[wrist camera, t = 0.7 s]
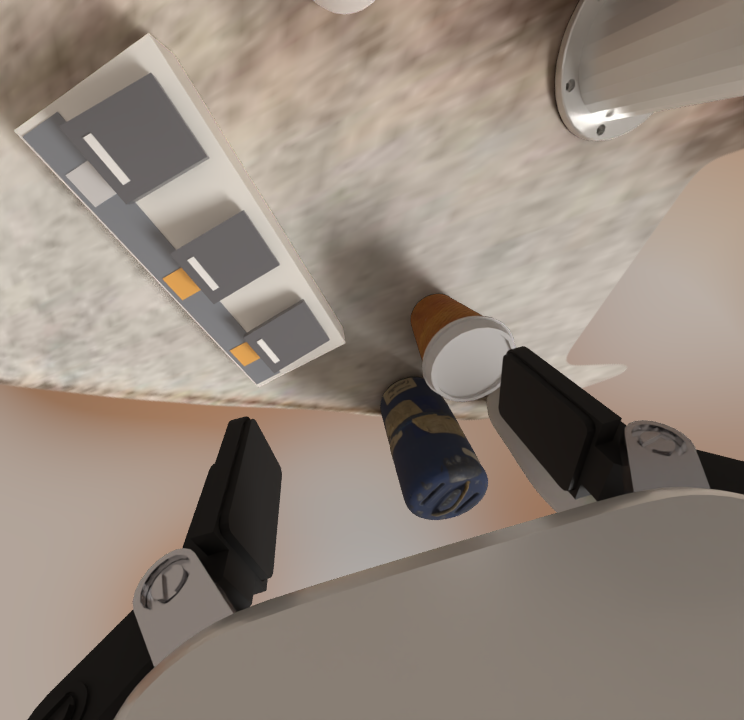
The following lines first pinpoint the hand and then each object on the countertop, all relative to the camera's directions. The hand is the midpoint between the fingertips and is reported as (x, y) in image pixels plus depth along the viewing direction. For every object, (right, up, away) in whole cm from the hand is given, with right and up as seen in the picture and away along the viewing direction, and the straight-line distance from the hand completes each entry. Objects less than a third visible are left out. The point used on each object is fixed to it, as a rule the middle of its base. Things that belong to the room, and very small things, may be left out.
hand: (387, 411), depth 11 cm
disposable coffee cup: (+8, +8, +27) cm, 29 cm away
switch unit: (-15, +13, +20) cm, 28 cm away
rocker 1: (-17, +17, +10) cm, 26 cm away
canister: (+5, -4, +34) cm, 35 cm away
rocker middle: (-13, +11, +15) cm, 23 cm away
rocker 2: (-9, +4, +20) cm, 22 cm away
